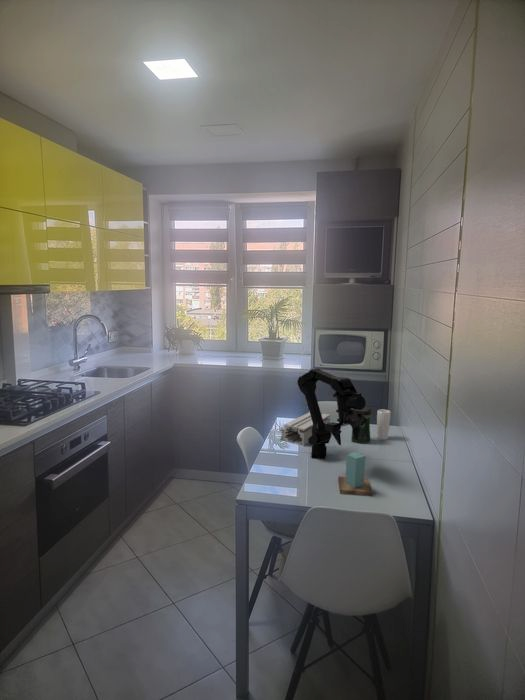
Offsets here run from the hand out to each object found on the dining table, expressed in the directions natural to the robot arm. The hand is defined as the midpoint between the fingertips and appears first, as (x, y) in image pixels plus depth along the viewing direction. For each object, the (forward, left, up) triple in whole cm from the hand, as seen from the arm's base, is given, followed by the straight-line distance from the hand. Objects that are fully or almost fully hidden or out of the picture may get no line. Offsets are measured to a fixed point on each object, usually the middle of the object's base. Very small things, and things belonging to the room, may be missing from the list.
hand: (348, 442), depth 186 cm
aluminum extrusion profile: (-19, +41, -13) cm, 47 cm away
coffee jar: (+10, +37, -12) cm, 40 cm away
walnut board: (+2, -17, -12) cm, 21 cm away
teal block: (+2, -17, -11) cm, 20 cm away
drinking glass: (+22, +43, -12) cm, 49 cm away
